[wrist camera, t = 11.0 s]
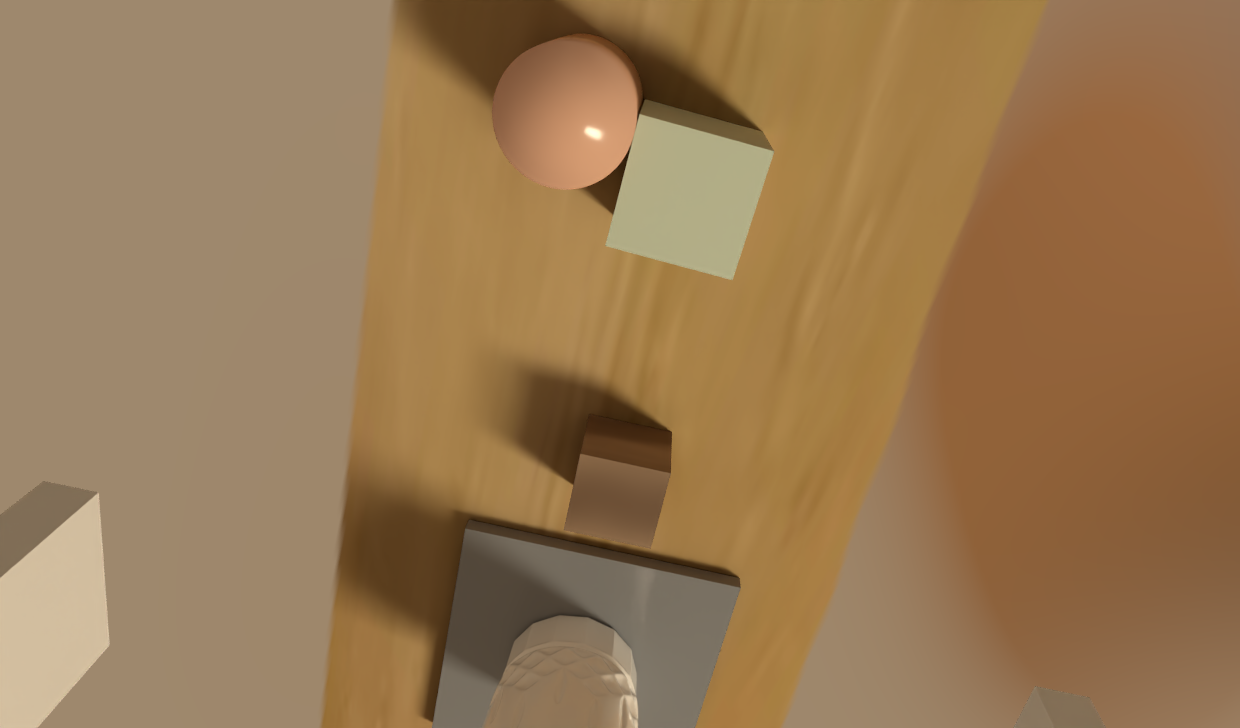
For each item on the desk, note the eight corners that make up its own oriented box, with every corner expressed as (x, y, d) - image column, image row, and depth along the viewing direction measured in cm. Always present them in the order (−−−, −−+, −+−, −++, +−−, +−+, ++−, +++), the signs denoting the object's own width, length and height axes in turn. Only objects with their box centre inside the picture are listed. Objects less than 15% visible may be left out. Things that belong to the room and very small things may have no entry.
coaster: (469, 519, 44) (465, 528, 43) (739, 578, 44) (740, 587, 44) (434, 724, 50) (430, 735, 49) (675, 775, 50) (675, 786, 49)
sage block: (644, 98, 36) (639, 114, 31) (762, 131, 36) (774, 151, 31) (614, 215, 38) (605, 245, 33) (726, 245, 38) (732, 280, 33)
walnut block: (589, 413, 42) (580, 453, 38) (671, 431, 42) (670, 473, 38) (574, 484, 43) (563, 530, 39) (653, 501, 43) (650, 548, 40)
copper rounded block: (589, 5, 35) (571, 8, 29) (667, 108, 36) (665, 128, 30) (496, 89, 36) (462, 106, 31) (575, 184, 37) (556, 217, 32)
